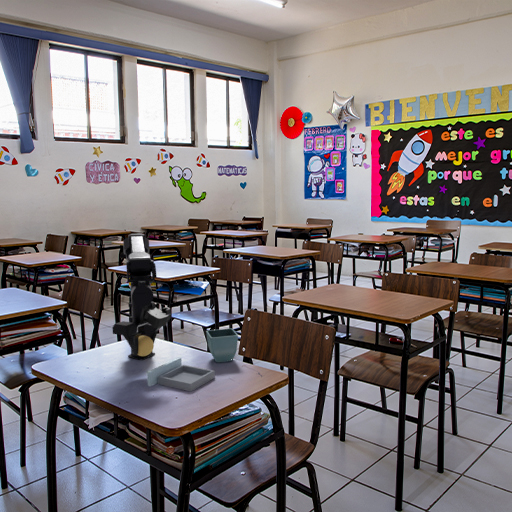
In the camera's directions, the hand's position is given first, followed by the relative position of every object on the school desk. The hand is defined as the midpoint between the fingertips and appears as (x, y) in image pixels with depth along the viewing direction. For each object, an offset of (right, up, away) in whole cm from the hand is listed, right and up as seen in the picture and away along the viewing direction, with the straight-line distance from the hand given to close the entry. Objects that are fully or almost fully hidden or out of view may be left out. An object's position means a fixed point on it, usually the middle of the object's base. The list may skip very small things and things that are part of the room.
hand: (143, 351), depth 146 cm
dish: (+14, -7, -5) cm, 16 cm away
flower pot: (+23, -5, +12) cm, 26 cm away
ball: (0, -1, 0) cm, 1 cm away
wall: (+7, -7, -3) cm, 10 cm away
